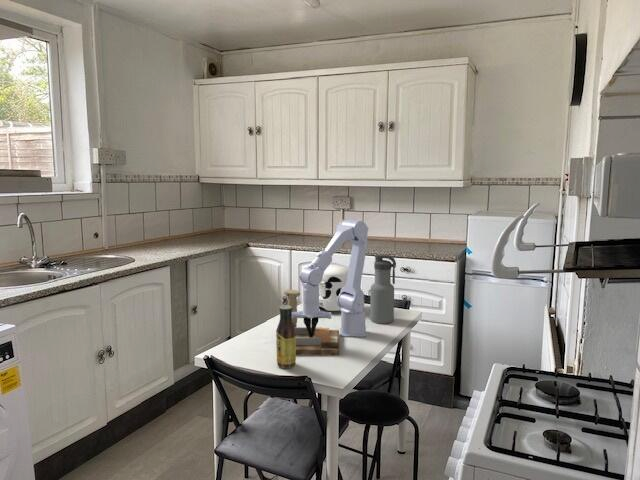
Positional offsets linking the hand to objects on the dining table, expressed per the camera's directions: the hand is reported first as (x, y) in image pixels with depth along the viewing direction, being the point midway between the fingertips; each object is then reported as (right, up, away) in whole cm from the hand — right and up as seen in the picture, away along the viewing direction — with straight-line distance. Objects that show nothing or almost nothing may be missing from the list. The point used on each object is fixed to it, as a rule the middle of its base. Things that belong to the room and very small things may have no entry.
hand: (311, 337), depth 174 cm
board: (0, -3, 0) cm, 3 cm away
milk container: (+10, +4, +44) cm, 45 cm away
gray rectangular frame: (-3, -1, 0) cm, 3 cm away
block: (+4, -1, 0) cm, 4 cm away
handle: (-8, 0, +18) cm, 20 cm away
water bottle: (+29, +1, +27) cm, 40 cm away
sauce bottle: (-8, -6, -18) cm, 21 cm away
